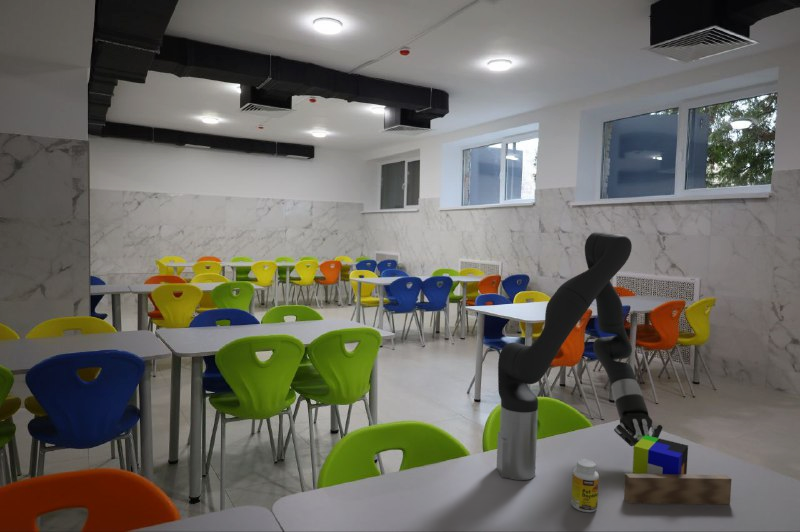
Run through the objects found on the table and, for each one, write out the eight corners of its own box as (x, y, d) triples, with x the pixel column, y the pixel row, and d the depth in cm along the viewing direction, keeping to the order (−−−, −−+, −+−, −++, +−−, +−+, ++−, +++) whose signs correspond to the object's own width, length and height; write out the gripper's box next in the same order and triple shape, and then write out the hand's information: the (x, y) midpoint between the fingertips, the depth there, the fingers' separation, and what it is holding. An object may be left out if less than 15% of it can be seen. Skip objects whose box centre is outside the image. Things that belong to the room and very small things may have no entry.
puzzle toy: (676, 499, 123) (678, 457, 122) (631, 485, 129) (633, 446, 129) (685, 484, 130) (688, 445, 130) (643, 472, 137) (645, 434, 136)
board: (628, 503, 120) (629, 477, 120) (624, 498, 122) (625, 473, 122) (729, 504, 121) (731, 478, 121) (724, 499, 123) (725, 474, 123)
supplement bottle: (580, 514, 115) (582, 469, 114) (566, 502, 120) (568, 458, 119) (602, 512, 116) (604, 467, 115) (588, 500, 121) (590, 456, 121)
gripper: (610, 392, 143) (629, 456, 132) (657, 393, 143) (680, 456, 132) (600, 404, 149) (618, 466, 137) (646, 405, 149) (667, 466, 138)
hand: (648, 461), depth 135 cm, fingers closed
